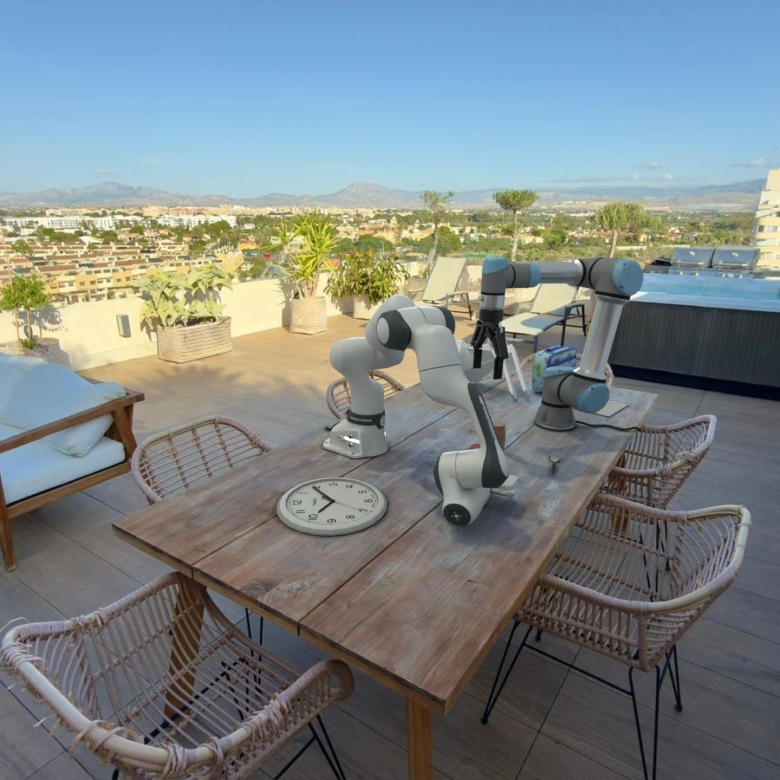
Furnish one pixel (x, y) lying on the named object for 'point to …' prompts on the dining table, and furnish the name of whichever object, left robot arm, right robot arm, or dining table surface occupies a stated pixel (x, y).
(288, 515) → the wall clock
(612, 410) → the invitation card
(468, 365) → the white plastic object
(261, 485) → the dining table surface
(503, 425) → the jar
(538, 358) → the lunch box
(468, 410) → the left robot arm
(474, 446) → the lid
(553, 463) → the fork
